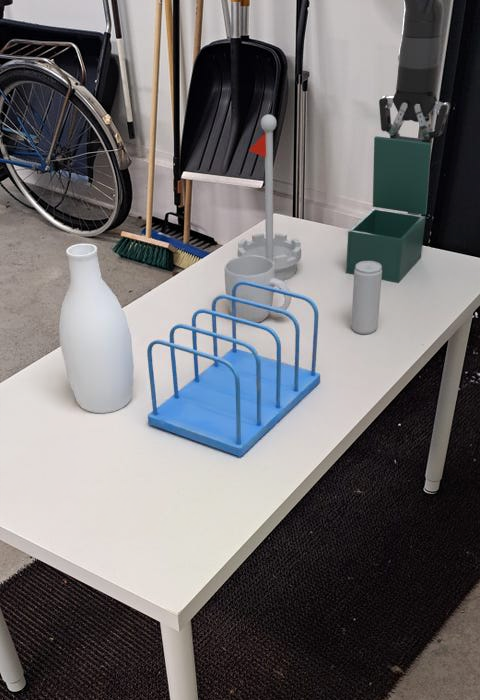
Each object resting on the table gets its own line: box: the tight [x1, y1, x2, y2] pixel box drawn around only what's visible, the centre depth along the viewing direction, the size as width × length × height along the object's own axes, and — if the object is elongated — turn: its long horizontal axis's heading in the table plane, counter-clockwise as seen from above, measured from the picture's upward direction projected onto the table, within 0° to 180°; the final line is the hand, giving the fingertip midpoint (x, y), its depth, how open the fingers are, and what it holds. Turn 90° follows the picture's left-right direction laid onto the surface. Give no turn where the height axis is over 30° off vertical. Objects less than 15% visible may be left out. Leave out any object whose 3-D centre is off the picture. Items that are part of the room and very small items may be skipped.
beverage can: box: [350, 261, 383, 335], centre depth 152 cm, size 5×5×12 cm
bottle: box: [58, 243, 134, 414], centre depth 132 cm, size 11×11×25 cm
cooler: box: [345, 207, 427, 284], centre depth 174 cm, size 13×11×9 cm
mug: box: [224, 256, 292, 323], centre depth 157 cm, size 13×9×10 cm
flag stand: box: [236, 113, 302, 281], centre depth 167 cm, size 13×13×30 cm
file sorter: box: [146, 281, 321, 457], centre depth 133 cm, size 25×17×15 cm
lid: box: [372, 135, 433, 216], centre depth 171 cm, size 14×11×5 cm
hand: (408, 156), depth 171 cm, fingers closed on lid, 5 cm apart
